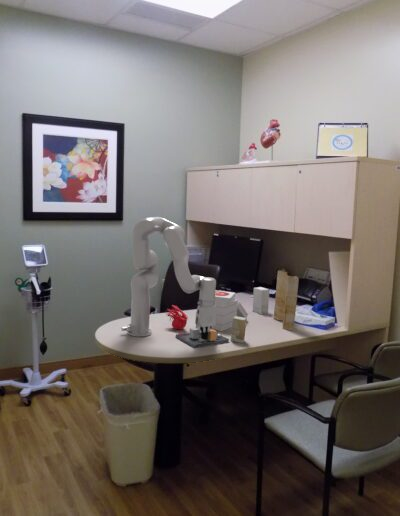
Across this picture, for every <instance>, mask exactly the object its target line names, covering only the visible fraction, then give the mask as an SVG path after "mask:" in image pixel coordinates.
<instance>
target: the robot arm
mask: <svg viewBox="0 0 400 516" xmlns="http://www.w3.org/2000/svg"><path fill="white" fill-rule="evenodd" d="M156 234H158V235H160V236H162V239H163V241H164V243H165V245H166V247H167V249H168V253H169V254H170V257H171V258H172V261H173V262H172V263H173V270H174V275H175V278H176V280H177V282H178V285H179V286H180V288H181V290H182V291H183V292H184V293H186V294H192V293H194V292H196V291H199V296H198V297H199V298H198V301H197V308H196V311H195V312H196V313H195V318H194V319H195V320H194V321H195V322H194V323H195V327H196V328H197V329H200V330H201V331H202V332H201V338H202V339H203V340H208V332H209V331H210V330H211V329H212V328H211V327H214V326H215V325H216V323H217V311H216V306H215V305H214V304H215V290H217V289H216V287H217V280H216V279H215V278H214V277H209V276H207V277H206V276H202V275H198V274H191V272H190V267H189V258H190V253H189V252H190V251H189V250H188V247H187V246H186V243H185V241H184V238H185V236H186V233H185V230H184V228H183V227H182V226H181V225H179V224H176V223H174V222H172V221H170V220H167V219H166V218H163V217H161V216H151V217H146V218H143V219H140V220H139V221H137V223H135V225H134V226H133V229H132V264H133V267H134V268H135V269H136V270H138V271H140V272H137V273H136V274H134V275H133V277H131V280H130V290H131V301H130V302H131V305H130V307H131V308H130V323H128V325H127V326H122V327H120V328H121V332H125V331H126V332H127V333H126V334H127V335H129V336H132V337H137V338H139V337H141V338H142V337H148V336H151V335H152V334H153V331H152V329H150V317H151V316H150V315H151V314H150V313H151V294H150V289H152V288H153V287H155V286H156V285H157V284H158V280H159V258H158V254H157V253H156V252H155V251H154V250H152V249H151V241H150V236H152V235H156Z"/></svg>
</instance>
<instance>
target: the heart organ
mask: <svg viewBox="0 0 400 516" xmlns="http://www.w3.org/2000/svg"><path fill="white" fill-rule="evenodd" d="M171 307H172V308H167V312H165V315H166V316H167V317H170V319H169V321H170V322H171V326H172V328H173V329H175V330H178V331H181V330H183V329H184V328H185V327H186V325H187V323H188V320H189V318H188V315H187V314H186V313H185V311H184V310H182V309H180V308H179V307H178V306H177V305H173V304H172V305H171Z"/></svg>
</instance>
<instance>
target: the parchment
mask: <svg viewBox="0 0 400 516" xmlns="http://www.w3.org/2000/svg"><path fill="white" fill-rule="evenodd" d="M298 289H299V276H296V275H294V276H291V275H288V271H285V270H284V269H283V270H282V269H279V270H277V277H276V288H275V300H274V308H273V309H274V310H273V320H277V321H280V322H281V321H283V322H282V329H283V330H286V331H294V329H295V321H296V319H295V318H296V312H297V311H296V309H297V301H298Z"/></svg>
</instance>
